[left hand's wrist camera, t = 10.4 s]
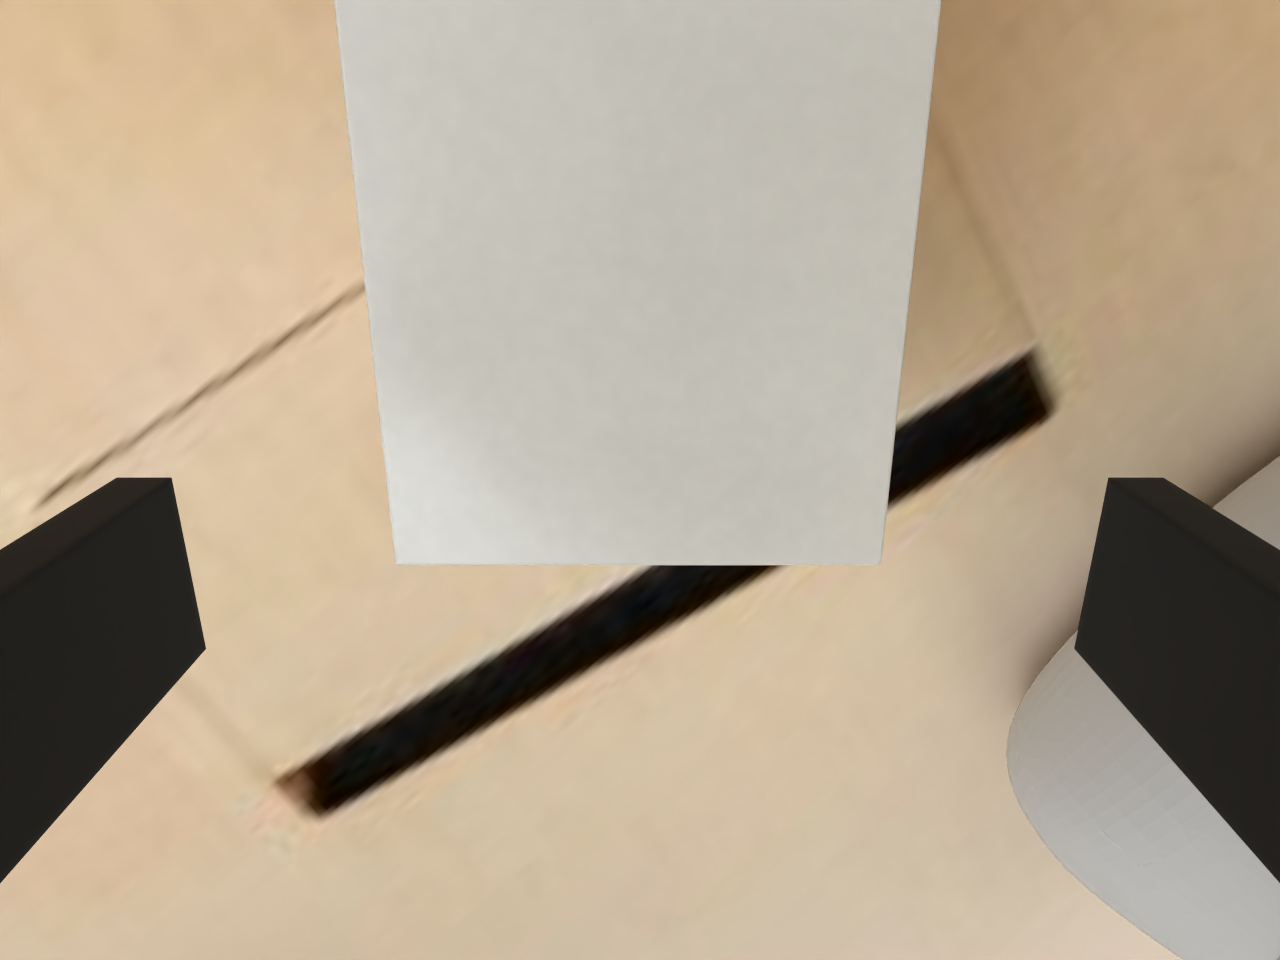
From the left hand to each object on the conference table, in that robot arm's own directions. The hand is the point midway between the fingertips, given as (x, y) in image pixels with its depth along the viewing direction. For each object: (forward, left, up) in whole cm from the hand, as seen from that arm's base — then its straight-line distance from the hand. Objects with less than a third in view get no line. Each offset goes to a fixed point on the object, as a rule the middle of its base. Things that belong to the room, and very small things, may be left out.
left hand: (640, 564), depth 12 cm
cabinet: (+6, 0, -17) cm, 18 cm away
